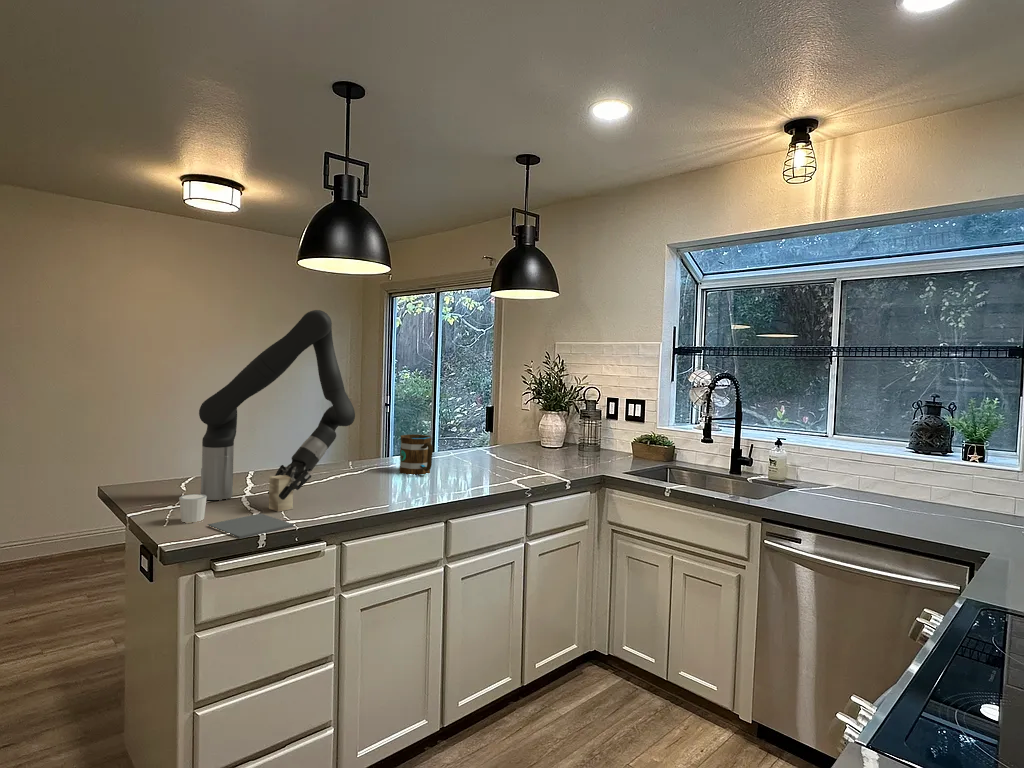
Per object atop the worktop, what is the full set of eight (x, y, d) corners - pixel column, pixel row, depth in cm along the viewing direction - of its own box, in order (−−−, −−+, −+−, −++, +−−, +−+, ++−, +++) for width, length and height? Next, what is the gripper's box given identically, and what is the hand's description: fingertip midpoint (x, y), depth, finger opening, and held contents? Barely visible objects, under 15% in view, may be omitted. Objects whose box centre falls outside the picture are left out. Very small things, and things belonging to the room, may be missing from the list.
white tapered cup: (210, 518, 174) (211, 494, 174) (199, 524, 167) (199, 499, 167) (186, 517, 174) (186, 493, 173) (173, 523, 167) (174, 499, 167)
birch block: (268, 508, 186) (269, 476, 186) (282, 505, 190) (283, 474, 190) (278, 511, 183) (279, 479, 183) (292, 508, 187) (293, 476, 187)
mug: (392, 470, 255) (394, 435, 255) (420, 467, 264) (422, 433, 263) (415, 479, 240) (416, 441, 239) (444, 476, 248) (445, 440, 248)
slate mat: (207, 526, 166) (207, 524, 166) (260, 515, 179) (260, 513, 179) (239, 538, 157) (239, 536, 157) (293, 526, 170) (293, 524, 170)
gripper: (289, 443, 196) (254, 485, 187) (317, 449, 188) (282, 493, 179) (303, 457, 201) (269, 499, 191) (330, 463, 192) (296, 507, 183)
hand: (275, 496), depth 185 cm, fingers closed on birch block, 5 cm apart
